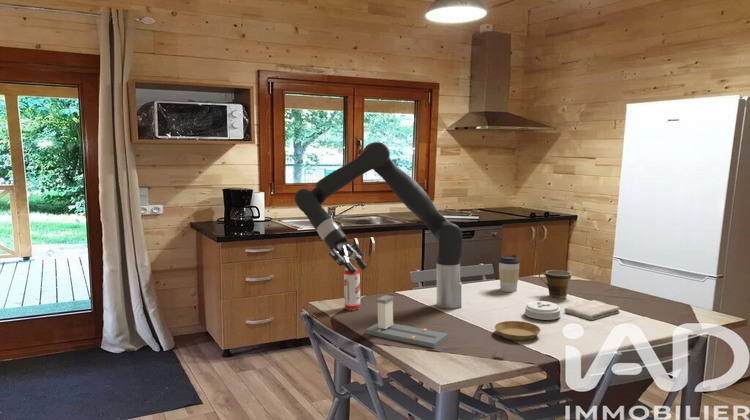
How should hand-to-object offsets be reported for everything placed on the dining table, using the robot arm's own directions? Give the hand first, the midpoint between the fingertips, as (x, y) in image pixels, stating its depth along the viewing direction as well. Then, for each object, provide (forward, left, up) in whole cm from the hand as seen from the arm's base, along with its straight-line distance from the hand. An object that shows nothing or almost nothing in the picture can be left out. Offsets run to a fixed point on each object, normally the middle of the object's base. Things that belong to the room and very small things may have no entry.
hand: (359, 270), depth 184 cm
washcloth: (-87, -8, -21) cm, 90 cm away
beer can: (+3, -21, -21) cm, 30 cm away
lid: (-67, -5, -21) cm, 70 cm away
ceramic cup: (-81, -30, -21) cm, 89 cm away
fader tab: (-8, +6, -18) cm, 21 cm away
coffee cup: (-65, -41, -21) cm, 80 cm away
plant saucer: (-52, +13, -21) cm, 57 cm away
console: (-15, +11, -20) cm, 27 cm away
